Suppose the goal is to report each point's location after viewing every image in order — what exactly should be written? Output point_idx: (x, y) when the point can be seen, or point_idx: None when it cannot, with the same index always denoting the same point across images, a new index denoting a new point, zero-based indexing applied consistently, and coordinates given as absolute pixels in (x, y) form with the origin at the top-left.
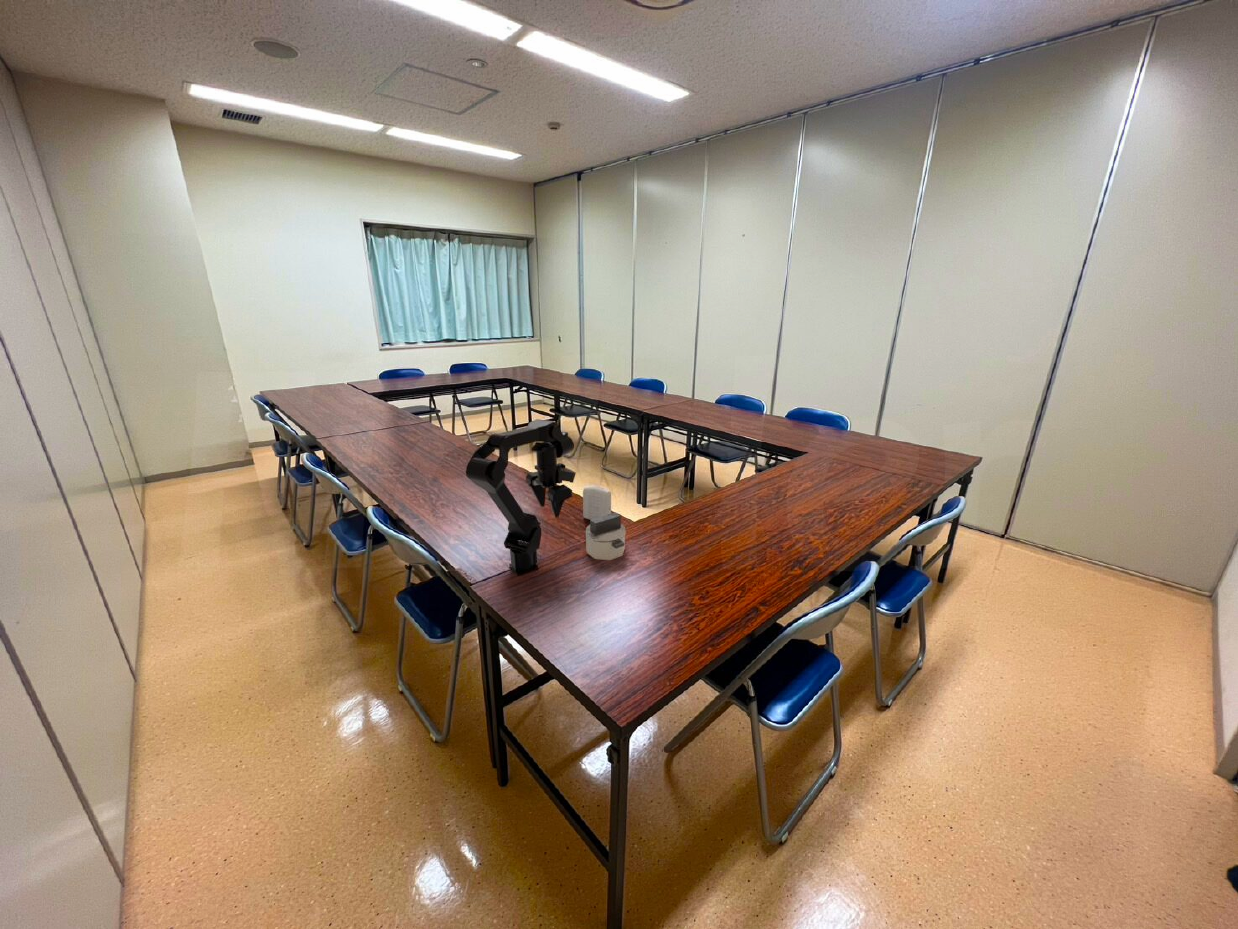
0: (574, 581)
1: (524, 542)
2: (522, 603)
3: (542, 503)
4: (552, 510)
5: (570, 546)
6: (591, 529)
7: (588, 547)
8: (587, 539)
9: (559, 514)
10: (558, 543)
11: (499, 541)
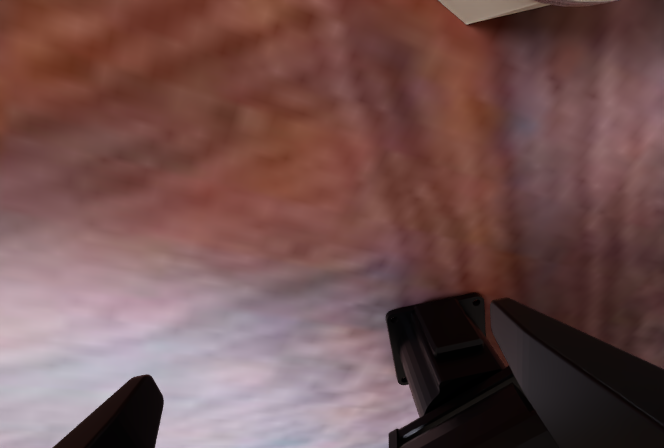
0: (659, 182)
1: (449, 416)
2: None
3: (142, 426)
4: (570, 445)
5: (350, 97)
6: None
7: (515, 11)
8: (540, 3)
9: (530, 308)
10: (288, 153)
11: (177, 388)
